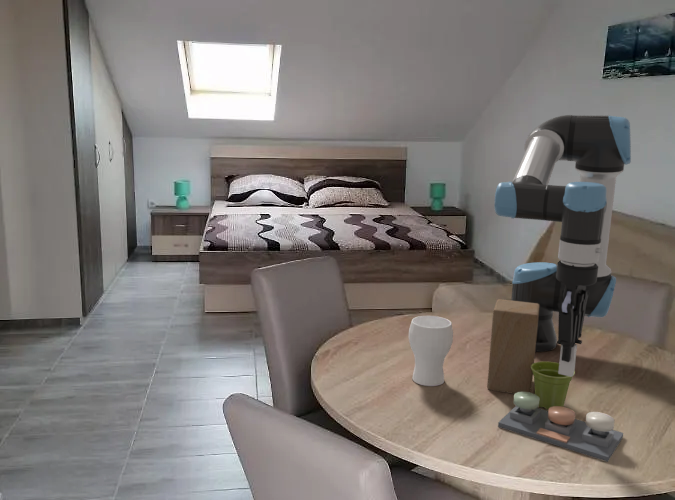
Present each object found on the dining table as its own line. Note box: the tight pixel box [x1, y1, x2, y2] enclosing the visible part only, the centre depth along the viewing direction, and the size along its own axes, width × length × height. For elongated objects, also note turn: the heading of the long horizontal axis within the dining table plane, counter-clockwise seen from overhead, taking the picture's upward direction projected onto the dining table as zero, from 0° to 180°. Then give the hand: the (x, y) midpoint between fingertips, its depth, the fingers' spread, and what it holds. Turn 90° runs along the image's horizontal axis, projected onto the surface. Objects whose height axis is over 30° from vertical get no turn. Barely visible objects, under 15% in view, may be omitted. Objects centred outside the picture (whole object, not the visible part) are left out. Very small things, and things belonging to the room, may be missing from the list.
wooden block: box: [486, 298, 539, 394], centre depth 152 cm, size 10×10×20 cm
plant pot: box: [531, 360, 576, 411], centre depth 144 cm, size 9×9×9 cm
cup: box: [408, 315, 454, 387], centre depth 155 cm, size 11×11×15 cm
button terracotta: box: [547, 406, 576, 427], centre depth 131 cm, size 5×5×3 cm
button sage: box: [513, 392, 540, 413], centre depth 136 cm, size 5×5×3 cm
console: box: [497, 405, 624, 462], centre depth 132 cm, size 22×12×2 cm, turn 54°
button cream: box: [585, 411, 615, 435], centre depth 127 cm, size 5×5×3 cm
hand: (566, 373), depth 130 cm, fingers closed
